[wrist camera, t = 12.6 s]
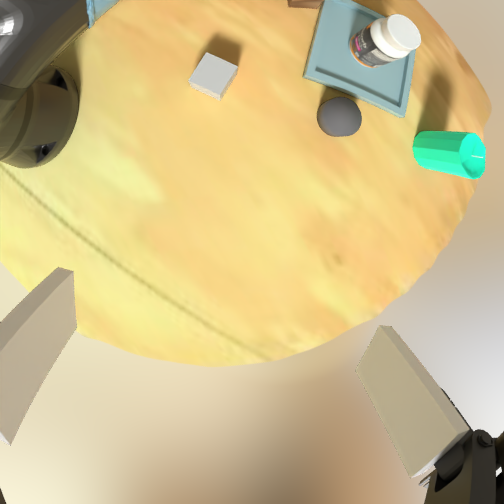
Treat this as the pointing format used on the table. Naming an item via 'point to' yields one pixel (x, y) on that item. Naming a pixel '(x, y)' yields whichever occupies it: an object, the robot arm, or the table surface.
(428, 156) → the candle
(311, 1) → the walnut block
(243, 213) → the table surface
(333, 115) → the dark grey stone
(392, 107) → the tray
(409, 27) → the pill bottle
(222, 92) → the grey block
